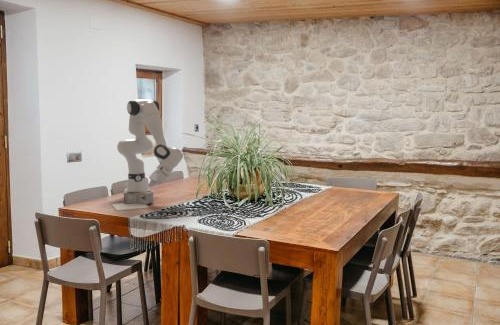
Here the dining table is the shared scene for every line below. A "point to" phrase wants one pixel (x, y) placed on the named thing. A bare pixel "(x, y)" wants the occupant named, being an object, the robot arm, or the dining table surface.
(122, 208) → the mat
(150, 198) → the coffee box
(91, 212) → the dining table surface
